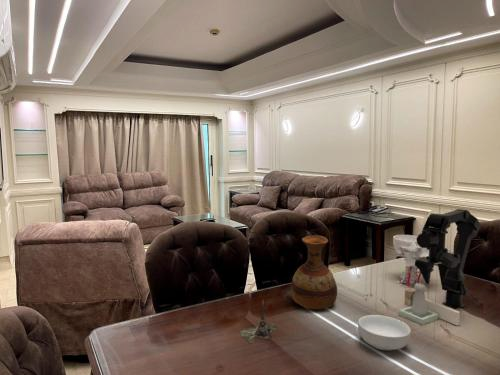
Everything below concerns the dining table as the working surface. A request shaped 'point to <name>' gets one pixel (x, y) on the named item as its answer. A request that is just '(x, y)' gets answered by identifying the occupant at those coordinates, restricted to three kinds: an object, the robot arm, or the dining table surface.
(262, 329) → the eiffel tower figurine
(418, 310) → the salt shaker
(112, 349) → the dining table surface
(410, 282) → the white irregular sculpture
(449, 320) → the gate
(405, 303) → the gate post
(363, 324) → the cereal bowl
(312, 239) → the brown ceramic vase
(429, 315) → the tray
